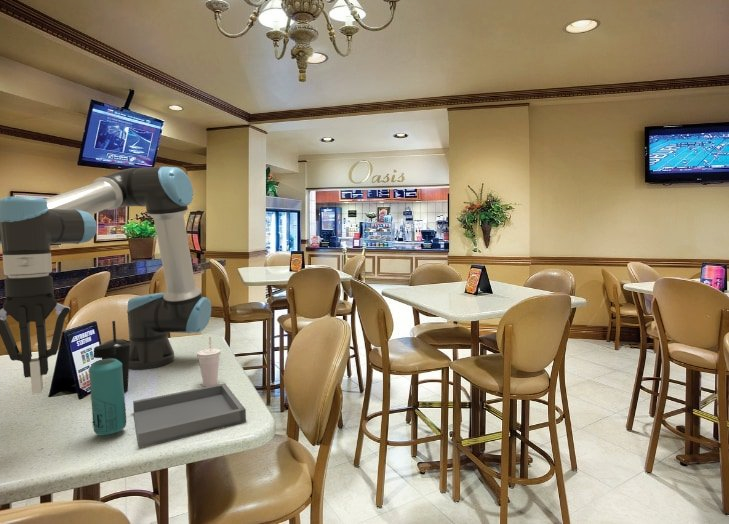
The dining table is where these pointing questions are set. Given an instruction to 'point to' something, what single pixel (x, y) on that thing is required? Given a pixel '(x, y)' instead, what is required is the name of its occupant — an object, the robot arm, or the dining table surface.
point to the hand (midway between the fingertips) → (37, 391)
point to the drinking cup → (121, 355)
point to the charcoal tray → (186, 414)
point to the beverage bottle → (107, 392)
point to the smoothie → (209, 365)
